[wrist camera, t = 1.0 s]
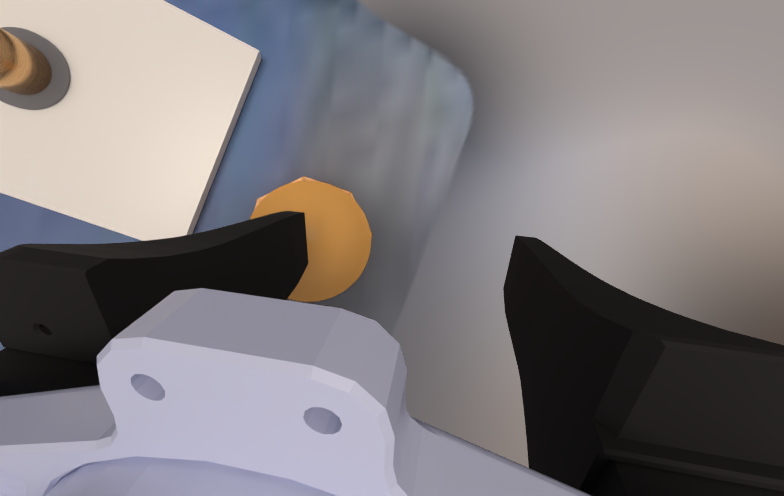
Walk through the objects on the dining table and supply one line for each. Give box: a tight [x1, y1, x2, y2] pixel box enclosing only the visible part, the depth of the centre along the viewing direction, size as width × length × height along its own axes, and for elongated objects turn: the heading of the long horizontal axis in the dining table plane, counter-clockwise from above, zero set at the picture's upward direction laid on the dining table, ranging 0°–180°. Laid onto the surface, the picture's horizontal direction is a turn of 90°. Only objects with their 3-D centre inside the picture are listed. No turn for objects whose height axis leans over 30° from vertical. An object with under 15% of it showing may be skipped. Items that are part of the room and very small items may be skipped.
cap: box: [250, 176, 372, 302], centre depth 19 cm, size 6×6×6 cm
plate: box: [0, 0, 261, 241], centre depth 16 cm, size 18×12×5 cm, turn 66°
